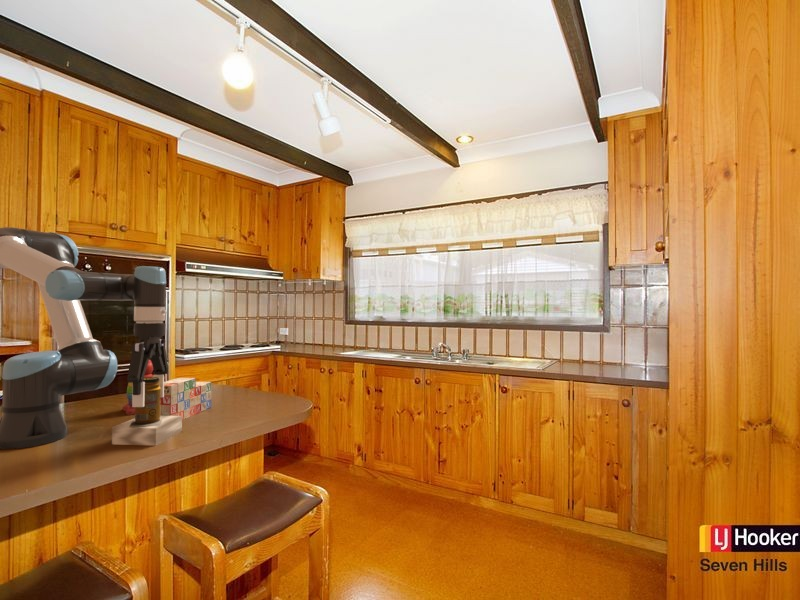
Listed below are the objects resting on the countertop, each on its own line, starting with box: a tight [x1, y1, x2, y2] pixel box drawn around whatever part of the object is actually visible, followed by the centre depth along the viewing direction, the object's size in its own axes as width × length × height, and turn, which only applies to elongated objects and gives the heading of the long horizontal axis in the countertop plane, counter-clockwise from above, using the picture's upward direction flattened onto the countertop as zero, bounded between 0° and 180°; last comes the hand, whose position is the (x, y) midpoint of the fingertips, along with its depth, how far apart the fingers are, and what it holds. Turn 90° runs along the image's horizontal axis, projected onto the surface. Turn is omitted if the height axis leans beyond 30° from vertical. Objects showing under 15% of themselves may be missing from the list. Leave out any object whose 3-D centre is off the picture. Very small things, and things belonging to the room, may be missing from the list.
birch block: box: [111, 415, 183, 447], centre depth 116 cm, size 12×12×5 cm
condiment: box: [129, 377, 163, 427], centre depth 116 cm, size 7×8×12 cm
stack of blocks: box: [160, 377, 213, 421], centre depth 140 cm, size 21×6×12 cm, turn 172°
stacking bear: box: [122, 359, 154, 416], centre depth 146 cm, size 11×10×18 cm
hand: (148, 401), depth 116 cm, fingers open, 10 cm apart
